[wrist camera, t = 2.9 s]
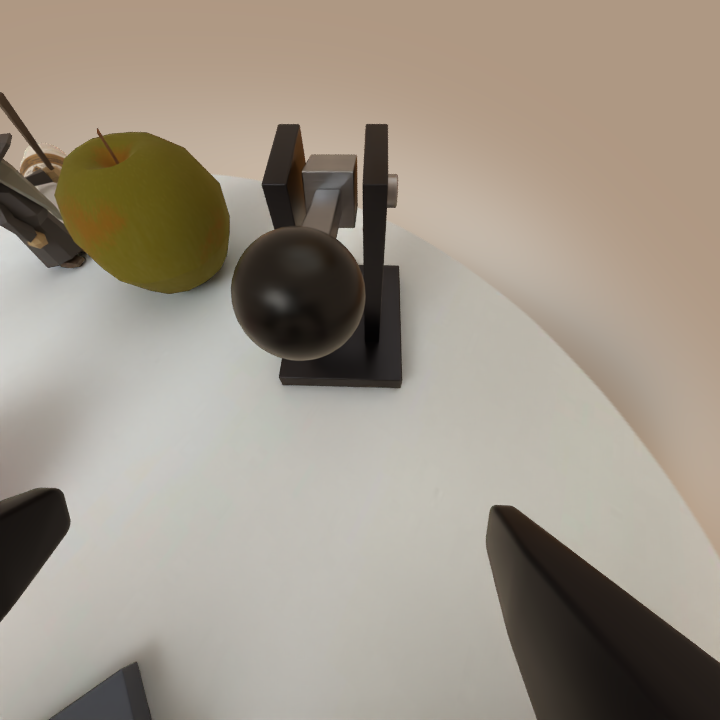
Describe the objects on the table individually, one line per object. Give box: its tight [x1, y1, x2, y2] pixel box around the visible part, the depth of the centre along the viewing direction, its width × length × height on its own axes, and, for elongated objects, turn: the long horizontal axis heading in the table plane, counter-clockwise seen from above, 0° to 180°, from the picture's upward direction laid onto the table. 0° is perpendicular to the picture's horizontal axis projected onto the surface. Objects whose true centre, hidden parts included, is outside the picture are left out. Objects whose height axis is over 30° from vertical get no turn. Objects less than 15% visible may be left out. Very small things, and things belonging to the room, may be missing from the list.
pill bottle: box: [20, 143, 67, 224], centre depth 31 cm, size 4×4×8 cm
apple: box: [54, 128, 230, 294], centre depth 24 cm, size 10×10×11 cm
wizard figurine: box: [0, 92, 85, 268], centre depth 25 cm, size 8×6×12 cm
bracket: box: [262, 124, 402, 388], centre depth 20 cm, size 10×8×13 cm
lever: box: [231, 155, 365, 361], centre depth 13 cm, size 12×4×4 cm, turn 178°
